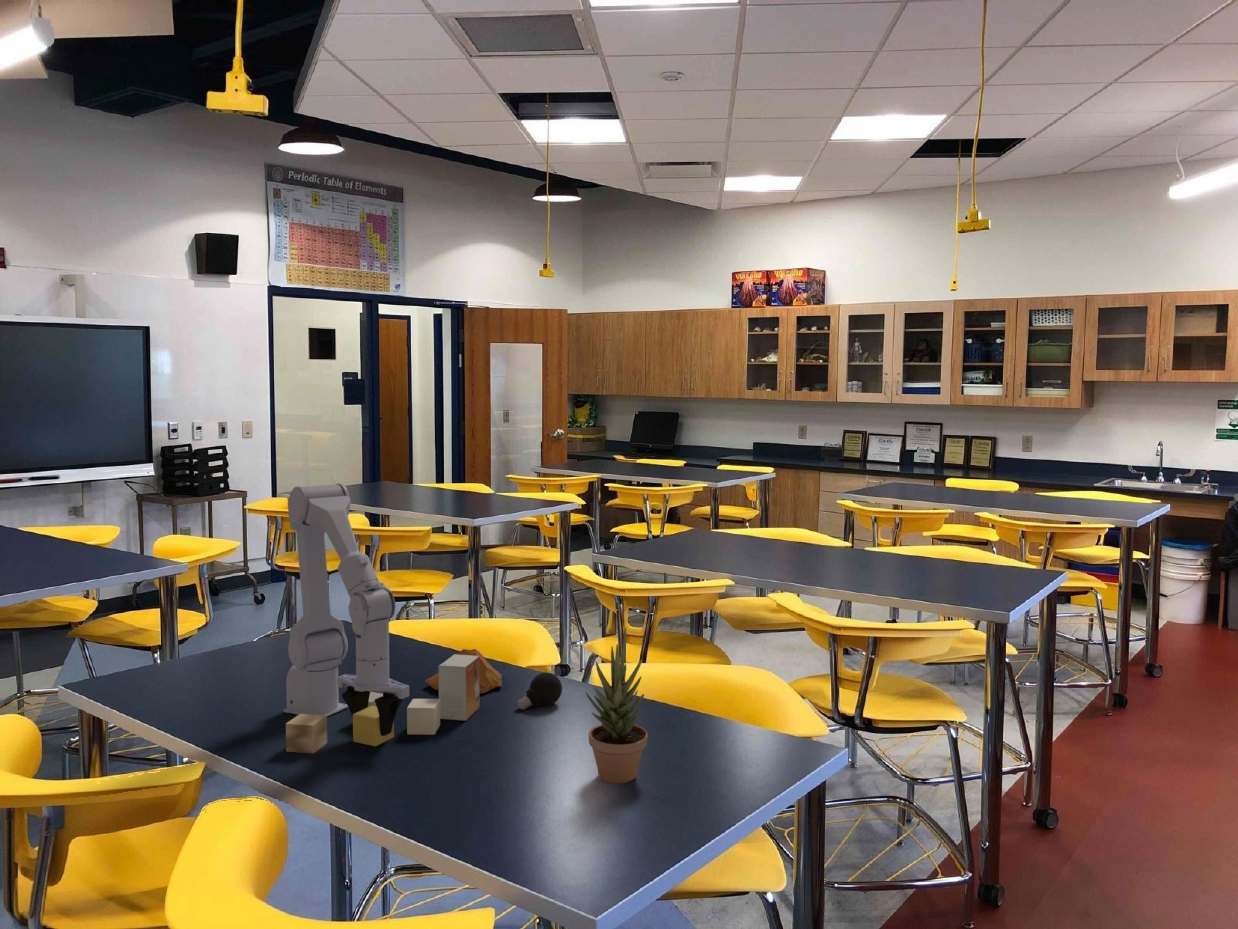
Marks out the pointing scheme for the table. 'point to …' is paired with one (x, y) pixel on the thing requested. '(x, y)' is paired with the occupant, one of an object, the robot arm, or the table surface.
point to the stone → (487, 674)
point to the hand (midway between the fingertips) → (373, 731)
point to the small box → (459, 687)
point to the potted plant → (617, 724)
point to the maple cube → (306, 733)
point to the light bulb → (542, 691)
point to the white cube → (423, 716)
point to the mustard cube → (369, 727)
